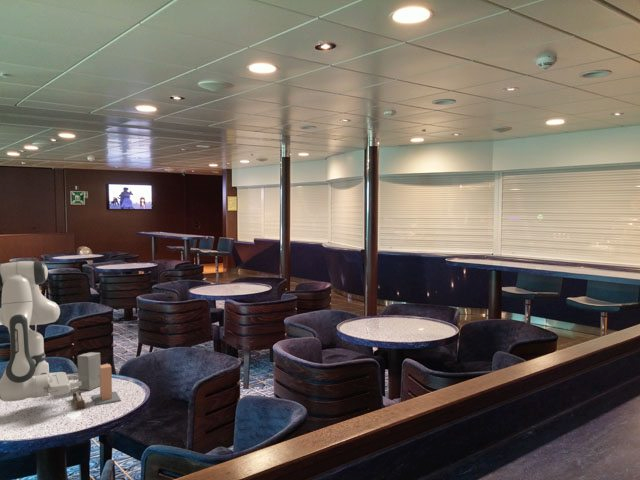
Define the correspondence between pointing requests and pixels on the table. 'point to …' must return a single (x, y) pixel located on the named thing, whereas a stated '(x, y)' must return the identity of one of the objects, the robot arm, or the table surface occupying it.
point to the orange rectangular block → (105, 382)
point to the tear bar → (78, 400)
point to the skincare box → (89, 370)
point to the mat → (99, 401)
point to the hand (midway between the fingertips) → (80, 380)
